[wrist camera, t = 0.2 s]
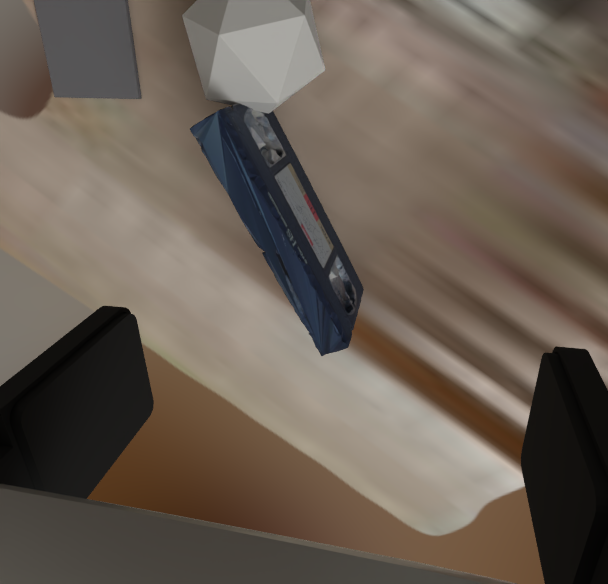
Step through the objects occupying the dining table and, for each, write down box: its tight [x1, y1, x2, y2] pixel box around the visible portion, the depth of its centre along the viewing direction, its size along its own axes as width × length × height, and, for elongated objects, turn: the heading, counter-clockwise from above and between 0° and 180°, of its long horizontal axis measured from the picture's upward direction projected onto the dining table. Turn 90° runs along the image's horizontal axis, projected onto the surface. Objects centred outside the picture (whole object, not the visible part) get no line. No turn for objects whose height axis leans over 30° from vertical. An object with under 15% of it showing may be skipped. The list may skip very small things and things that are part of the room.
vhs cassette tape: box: [190, 104, 363, 356], centre depth 38 cm, size 18×3×10 cm, turn 27°
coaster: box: [34, 0, 141, 99], centre depth 40 cm, size 8×8×1 cm
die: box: [182, 0, 325, 114], centre depth 33 cm, size 8×9×10 cm
